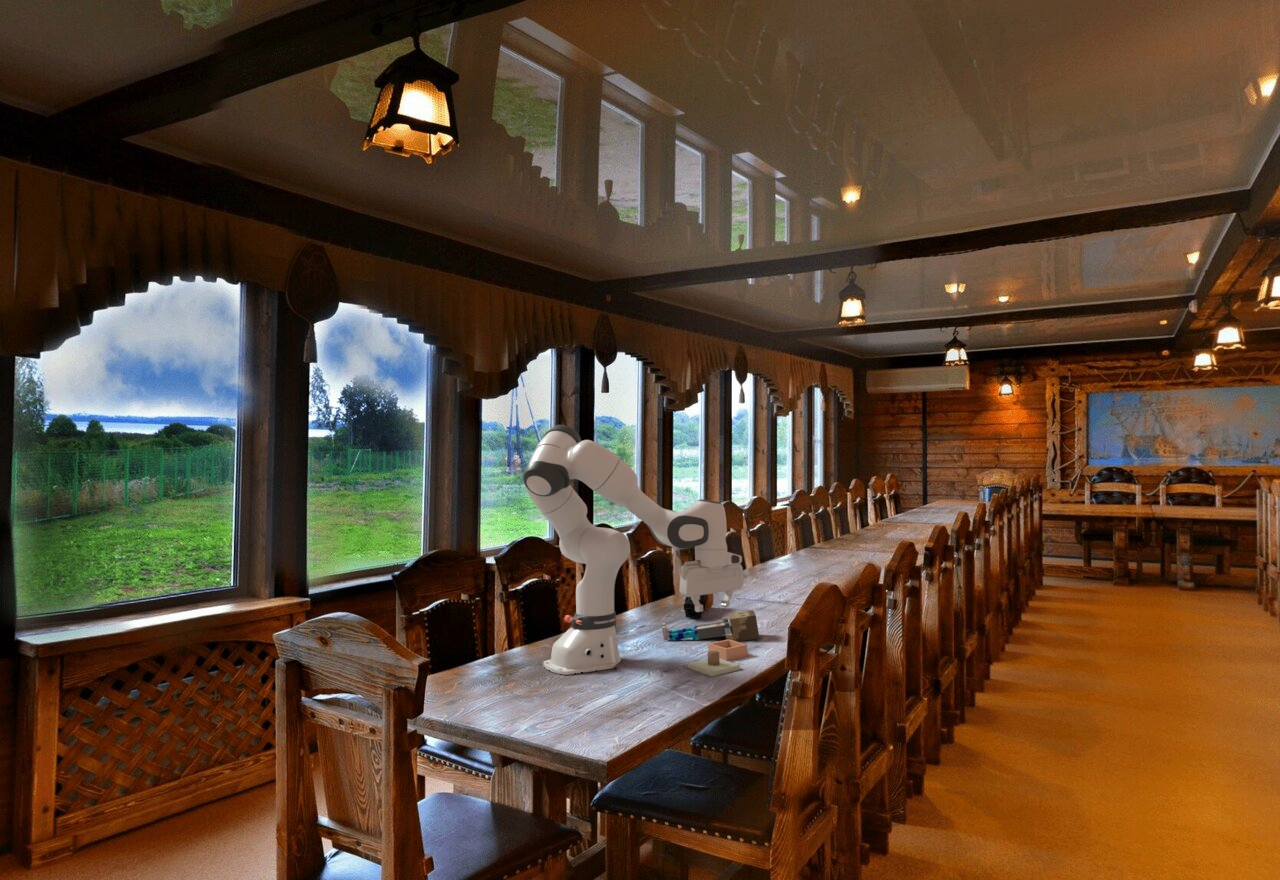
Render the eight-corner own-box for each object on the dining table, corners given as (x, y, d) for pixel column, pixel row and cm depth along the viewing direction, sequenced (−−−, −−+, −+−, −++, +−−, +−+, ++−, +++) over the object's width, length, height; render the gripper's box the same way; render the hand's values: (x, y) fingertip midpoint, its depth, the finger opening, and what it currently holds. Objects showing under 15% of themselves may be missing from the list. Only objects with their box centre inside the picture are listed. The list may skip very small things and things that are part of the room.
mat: (711, 680, 201) (711, 677, 201) (683, 670, 211) (683, 667, 211) (745, 672, 208) (745, 669, 208) (716, 663, 218) (716, 660, 218)
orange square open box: (726, 663, 218) (726, 649, 218) (708, 657, 224) (708, 643, 224) (747, 658, 222) (747, 644, 222) (729, 652, 229) (728, 639, 229)
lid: (711, 676, 203) (711, 659, 203) (688, 667, 211) (687, 651, 211) (739, 669, 209) (739, 653, 209) (715, 661, 217) (715, 645, 217)
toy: (662, 616, 261) (750, 603, 260) (666, 639, 261) (753, 625, 259) (661, 635, 235) (758, 620, 233) (665, 660, 234) (762, 645, 233)
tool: (683, 638, 277) (677, 602, 272) (697, 603, 297) (692, 569, 292) (705, 639, 274) (699, 603, 269) (718, 603, 294) (713, 569, 289)
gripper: (688, 563, 202) (689, 616, 202) (746, 556, 213) (747, 605, 213) (674, 561, 207) (675, 612, 207) (731, 553, 218) (732, 602, 218)
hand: (712, 609), depth 210 cm, fingers open, 8 cm apart
